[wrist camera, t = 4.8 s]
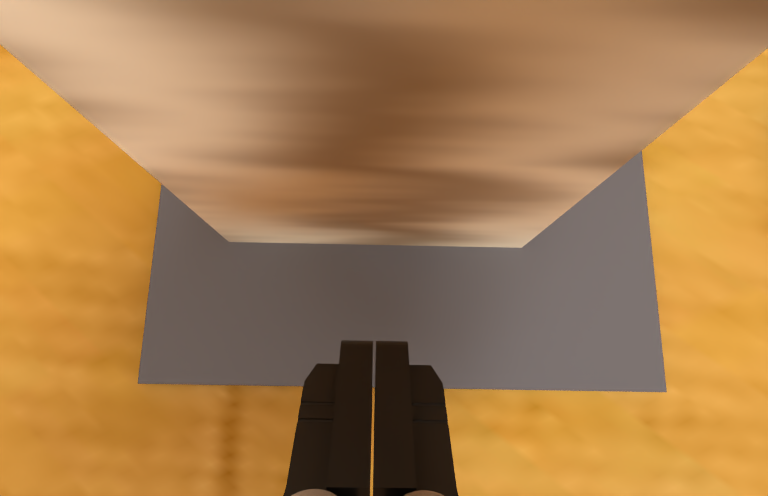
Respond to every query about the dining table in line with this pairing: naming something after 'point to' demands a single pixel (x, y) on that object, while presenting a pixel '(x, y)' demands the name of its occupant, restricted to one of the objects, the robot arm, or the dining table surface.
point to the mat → (414, 303)
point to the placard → (383, 103)
